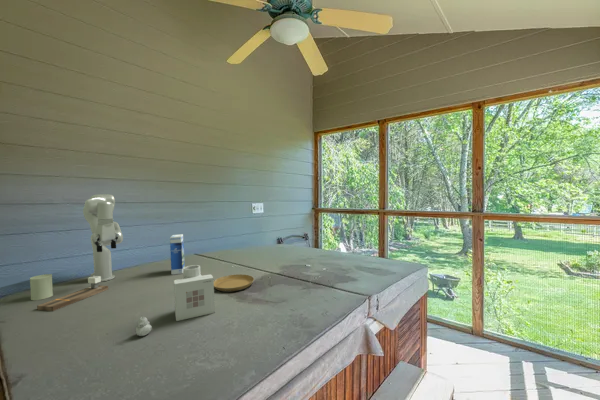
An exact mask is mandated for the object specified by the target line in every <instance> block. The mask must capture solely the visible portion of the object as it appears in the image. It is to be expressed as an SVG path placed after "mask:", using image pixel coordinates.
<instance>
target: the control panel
mask: <svg viewBox="0 0 600 400" xmlns="http://www.w3.org/2000/svg"><path fill="white" fill-rule="evenodd" d="M201 273H202V272H201V265H198V264H193V265H187V266H186V265H185V267H184V268H183V273H182V274H183V278H178V279H175V280H174V279H173V289H174V290H173V293H174V312H175V313H174V314H175V321H176V322H178V321H183V320H187V319H192V318H197V317H200V316H201V317H202V316H207V315H211V314H214V313H216V310H215V309H216V308H215V288H214V276H213V275H212V274H204V275H202V274H201Z"/></svg>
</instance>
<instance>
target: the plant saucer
mask: <svg viewBox="0 0 600 400" xmlns="http://www.w3.org/2000/svg"><path fill="white" fill-rule="evenodd" d="M254 281H255V278H254V276H252V275H249V274H243V273H242V274H241V273H238V274H230V275H228V274H227V275H224V276H221V277H217V278H215V280H214V290H217V291H220V292H227V293H228V292H229V293H230V292H238V291H242V290H246V289H247V288H249V287H250V286H252V284H254V283H253V282H254Z"/></svg>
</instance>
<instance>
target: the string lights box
mask: <svg viewBox="0 0 600 400" xmlns="http://www.w3.org/2000/svg"><path fill="white" fill-rule="evenodd" d="M169 242H170V243H169V245H170V249H169V250H170V267H171V268H170V269H171V270H170V271H171V272H170V273H171V275H181V274H183V268H184V267H186V265H185V248H184V247H185V246H184V234H183V233H181V234H172V235H171V236H170V237H169Z"/></svg>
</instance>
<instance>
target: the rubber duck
mask: <svg viewBox="0 0 600 400" xmlns="http://www.w3.org/2000/svg"><path fill="white" fill-rule="evenodd" d="M137 325H138V326H136V328H135V333H136V335H137V336H139V337H144V336H146V335H148V334H149V333H150V332H151V331H152V328H153V327H152V325H151V324H150V321H148V318H147V317H145V316H143V315H141V316H140V317H139V319H138V321H137Z"/></svg>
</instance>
